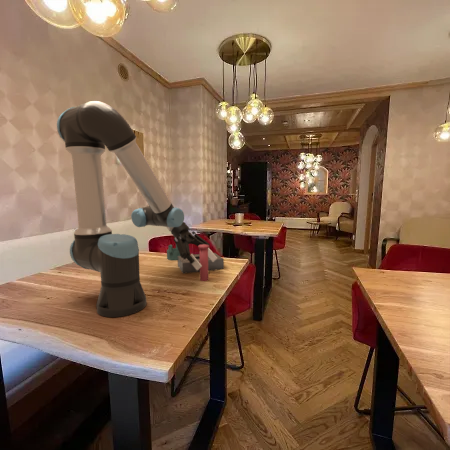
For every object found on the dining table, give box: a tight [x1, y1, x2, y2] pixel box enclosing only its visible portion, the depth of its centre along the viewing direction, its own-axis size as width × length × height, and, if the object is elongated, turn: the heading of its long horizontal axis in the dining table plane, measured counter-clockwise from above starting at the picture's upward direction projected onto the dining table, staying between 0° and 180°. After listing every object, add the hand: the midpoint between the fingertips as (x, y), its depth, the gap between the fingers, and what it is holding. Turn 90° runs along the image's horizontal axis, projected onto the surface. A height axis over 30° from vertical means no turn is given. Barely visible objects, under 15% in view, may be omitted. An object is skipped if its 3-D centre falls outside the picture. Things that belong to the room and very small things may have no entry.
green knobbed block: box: [166, 244, 180, 261], centre depth 146 cm, size 9×9×9 cm
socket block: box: [177, 252, 225, 274], centre depth 129 cm, size 20×14×5 cm
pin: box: [197, 244, 210, 282], centre depth 109 cm, size 4×4×15 cm
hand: (207, 264), depth 109 cm, fingers open, 13 cm apart
